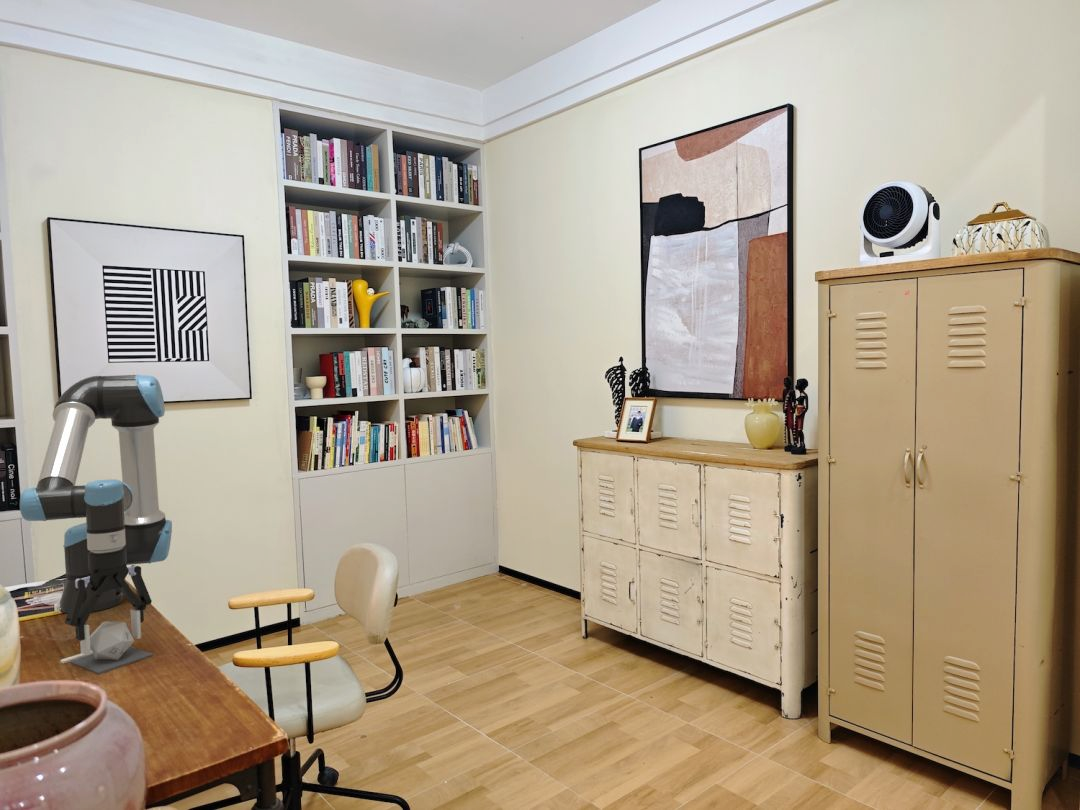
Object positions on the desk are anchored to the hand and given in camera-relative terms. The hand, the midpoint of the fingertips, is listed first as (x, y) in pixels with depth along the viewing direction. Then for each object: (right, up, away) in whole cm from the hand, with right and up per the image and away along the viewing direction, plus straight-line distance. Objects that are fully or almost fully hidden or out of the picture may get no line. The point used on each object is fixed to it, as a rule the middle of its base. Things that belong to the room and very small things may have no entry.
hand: (111, 645), depth 170 cm
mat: (-1, -3, +1) cm, 3 cm away
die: (0, -3, 0) cm, 3 cm away
